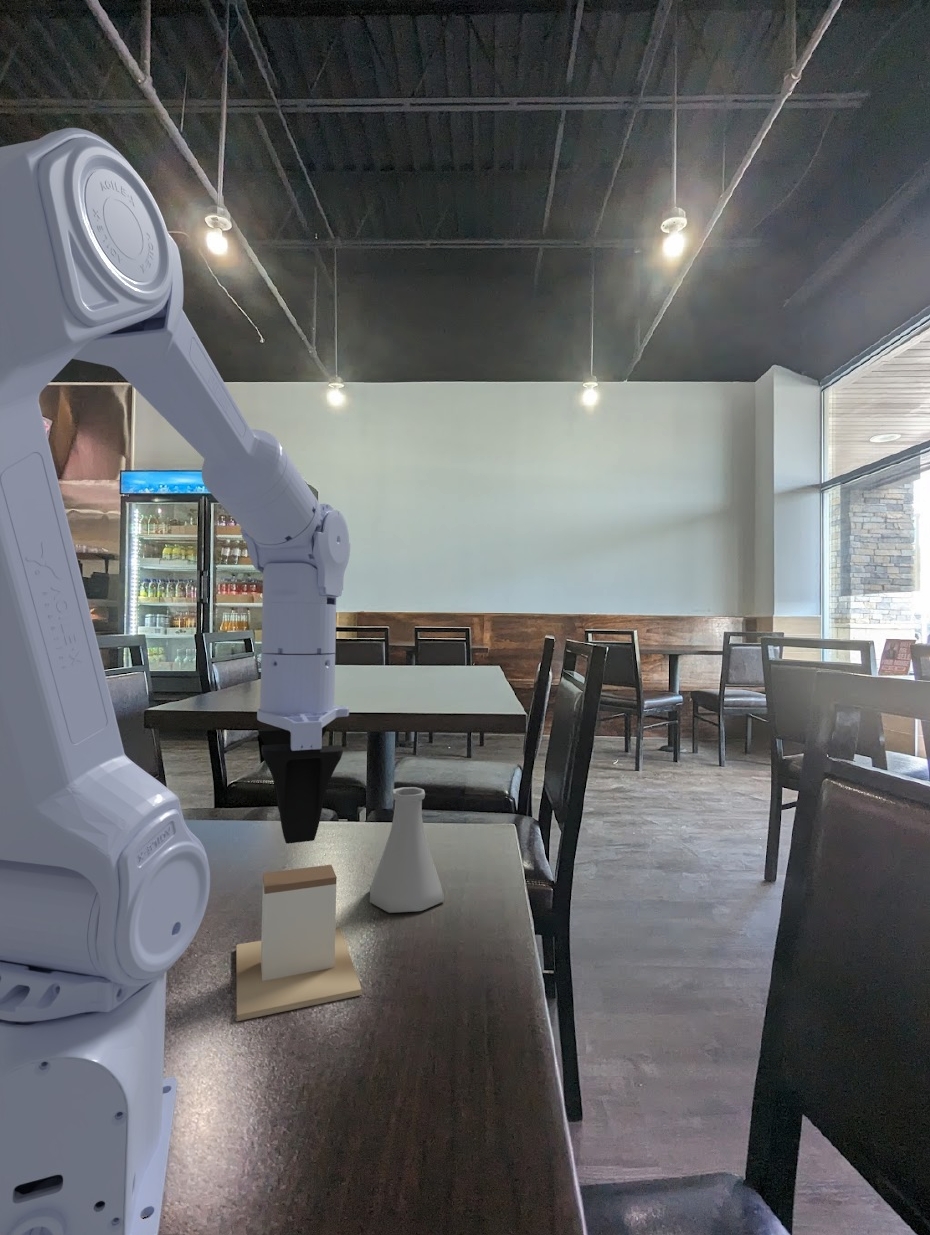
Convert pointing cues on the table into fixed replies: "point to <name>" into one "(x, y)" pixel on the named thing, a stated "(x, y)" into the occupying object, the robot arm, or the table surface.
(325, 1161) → the table surface
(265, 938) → the cream slab
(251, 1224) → the table surface
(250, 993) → the cork mat
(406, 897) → the flask
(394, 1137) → the table surface
